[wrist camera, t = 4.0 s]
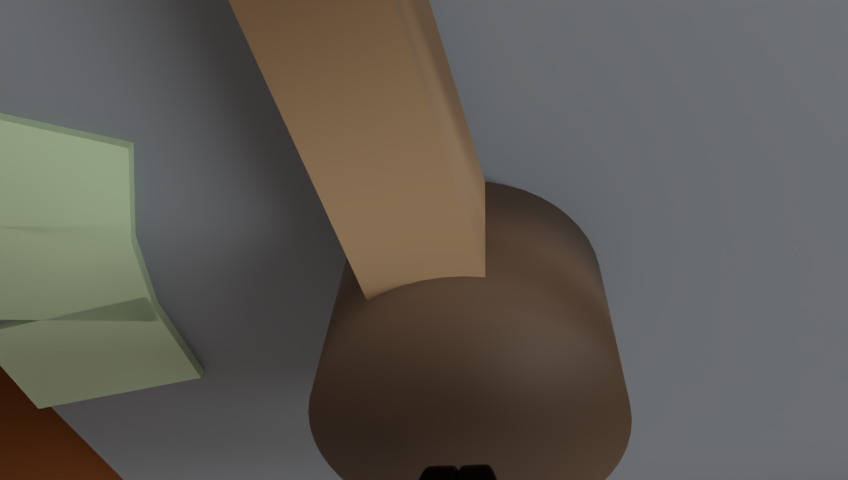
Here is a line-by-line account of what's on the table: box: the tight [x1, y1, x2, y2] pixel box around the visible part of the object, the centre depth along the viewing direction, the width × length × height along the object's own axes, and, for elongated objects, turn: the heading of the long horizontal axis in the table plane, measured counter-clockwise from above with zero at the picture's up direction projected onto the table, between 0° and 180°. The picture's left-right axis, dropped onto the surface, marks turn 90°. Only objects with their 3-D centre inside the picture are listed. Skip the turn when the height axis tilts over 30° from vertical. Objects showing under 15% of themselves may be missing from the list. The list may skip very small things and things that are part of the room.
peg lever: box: [228, 0, 632, 480], centre depth 8 cm, size 14×4×3 cm, turn 18°
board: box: [0, 0, 848, 480], centre depth 13 cm, size 18×20×1 cm
